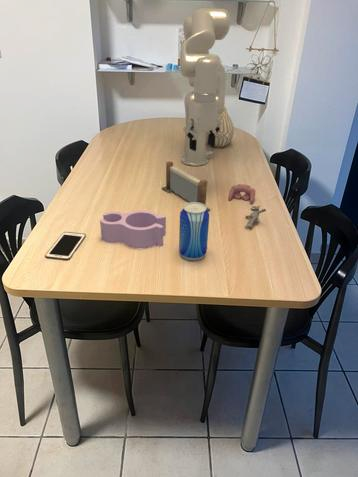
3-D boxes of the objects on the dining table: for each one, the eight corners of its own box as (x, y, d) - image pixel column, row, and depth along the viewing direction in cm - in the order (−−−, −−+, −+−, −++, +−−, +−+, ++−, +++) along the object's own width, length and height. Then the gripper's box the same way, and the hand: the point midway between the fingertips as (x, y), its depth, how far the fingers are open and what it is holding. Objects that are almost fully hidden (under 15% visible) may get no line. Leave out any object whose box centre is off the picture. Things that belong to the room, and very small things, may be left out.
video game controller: (253, 204, 153) (257, 186, 152) (252, 204, 148) (256, 185, 148) (229, 200, 155) (232, 182, 154) (227, 200, 151) (230, 181, 150)
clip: (97, 245, 122) (96, 226, 119) (108, 226, 133) (106, 207, 129) (161, 250, 121) (161, 231, 117) (166, 230, 132) (167, 212, 128)
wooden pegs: (161, 189, 159) (161, 162, 153) (170, 186, 161) (171, 159, 155) (200, 214, 141) (202, 184, 135) (210, 211, 144) (212, 182, 138)
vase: (237, 144, 210) (241, 105, 199) (223, 152, 198) (227, 111, 188) (211, 138, 217) (213, 100, 207) (196, 146, 206) (198, 106, 195)
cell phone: (86, 236, 128) (86, 233, 127) (69, 261, 115) (68, 259, 115) (64, 233, 128) (63, 231, 128) (44, 259, 116) (43, 256, 116)
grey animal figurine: (232, 224, 136) (242, 207, 141) (243, 236, 138) (253, 218, 142) (252, 217, 128) (262, 198, 132) (264, 229, 130) (274, 210, 134)
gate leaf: (169, 189, 156) (169, 167, 151) (173, 188, 157) (174, 166, 152) (196, 206, 144) (197, 182, 139) (200, 204, 145) (201, 181, 140)
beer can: (177, 246, 123) (178, 200, 114) (204, 246, 123) (207, 200, 115) (180, 262, 116) (181, 214, 107) (208, 261, 116) (212, 213, 108)
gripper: (217, 92, 140) (213, 141, 150) (177, 98, 132) (176, 149, 141) (231, 96, 135) (227, 146, 145) (191, 102, 127) (188, 155, 136)
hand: (202, 147), depth 143 cm, fingers open, 7 cm apart
